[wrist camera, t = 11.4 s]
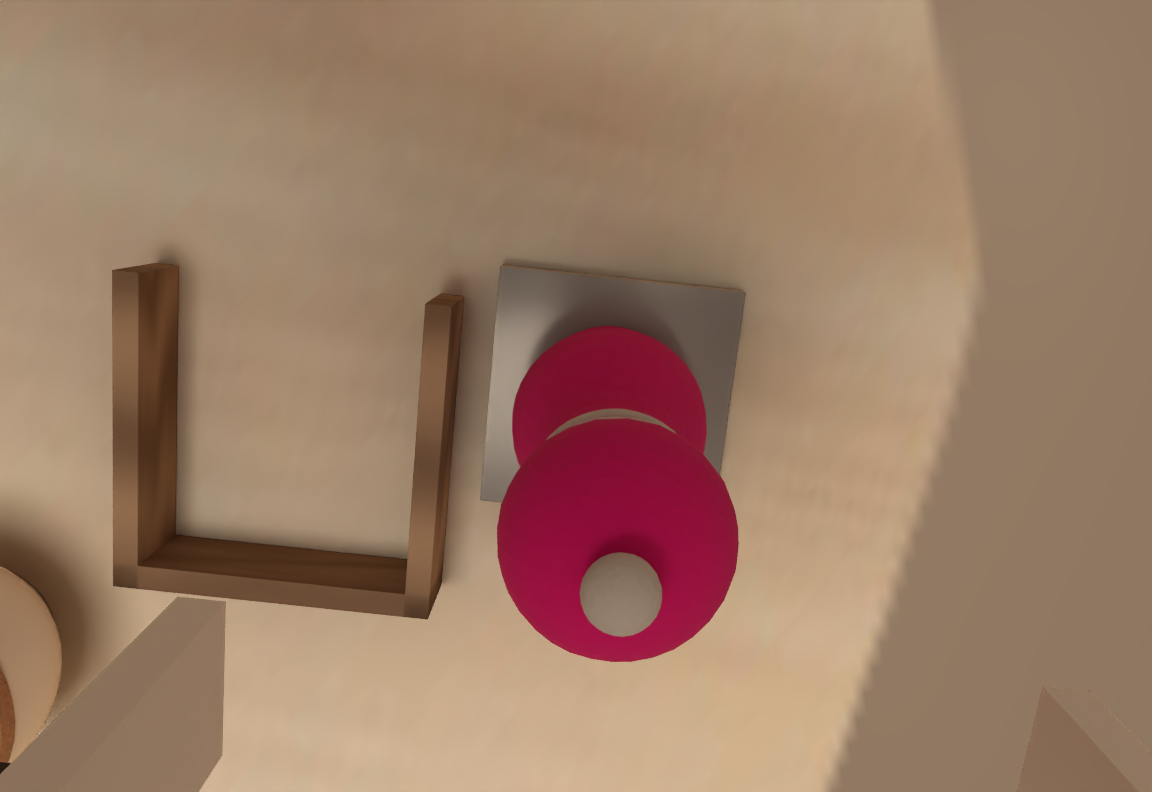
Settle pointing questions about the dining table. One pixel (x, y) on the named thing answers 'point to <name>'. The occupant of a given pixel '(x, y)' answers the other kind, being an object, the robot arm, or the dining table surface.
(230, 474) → the dining table surface
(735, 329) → the coaster
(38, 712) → the lidded jar
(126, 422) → the u-shaped frame
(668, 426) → the pepper mill
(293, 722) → the dining table surface
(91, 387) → the dining table surface
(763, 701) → the dining table surface
